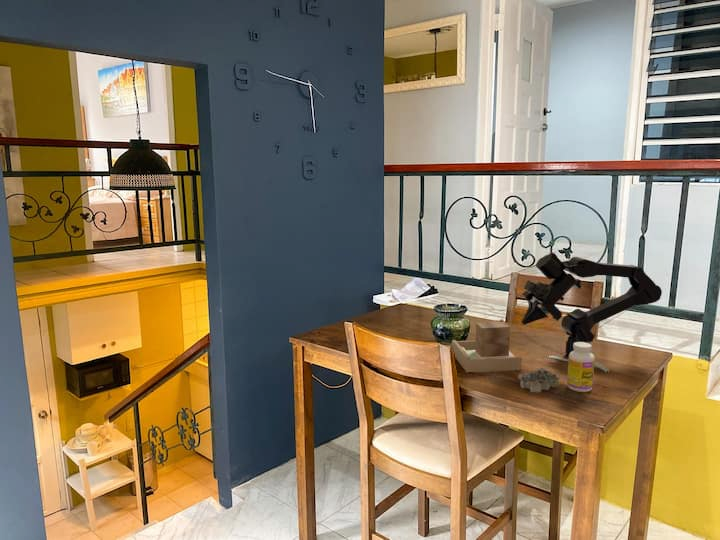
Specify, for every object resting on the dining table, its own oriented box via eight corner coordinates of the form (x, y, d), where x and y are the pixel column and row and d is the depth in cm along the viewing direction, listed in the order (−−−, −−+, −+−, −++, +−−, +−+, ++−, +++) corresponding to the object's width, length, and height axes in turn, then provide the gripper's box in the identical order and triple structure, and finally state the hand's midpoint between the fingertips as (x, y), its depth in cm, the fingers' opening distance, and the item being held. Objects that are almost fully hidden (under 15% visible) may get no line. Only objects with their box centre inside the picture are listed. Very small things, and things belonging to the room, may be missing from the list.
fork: (549, 362, 181) (548, 354, 180) (613, 372, 165) (612, 363, 165) (545, 365, 179) (544, 356, 179) (609, 374, 164) (608, 365, 163)
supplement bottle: (580, 394, 149) (583, 349, 147) (561, 386, 155) (564, 343, 152) (597, 389, 152) (600, 345, 150) (578, 381, 158) (581, 339, 155)
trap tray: (500, 350, 186) (500, 337, 185) (521, 370, 168) (521, 355, 167) (451, 352, 184) (451, 339, 183) (467, 372, 166) (467, 358, 165)
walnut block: (502, 349, 179) (503, 321, 177) (508, 355, 173) (509, 326, 171) (475, 350, 178) (476, 322, 176) (481, 357, 172) (481, 328, 170)
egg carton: (534, 395, 150) (535, 381, 149) (515, 385, 156) (515, 372, 156) (562, 387, 155) (563, 373, 154) (542, 378, 161) (542, 365, 161)
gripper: (529, 266, 181) (495, 300, 182) (554, 277, 163) (516, 314, 164) (550, 288, 183) (517, 321, 184) (577, 302, 165) (540, 338, 166)
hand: (522, 323), depth 175 cm, fingers closed
